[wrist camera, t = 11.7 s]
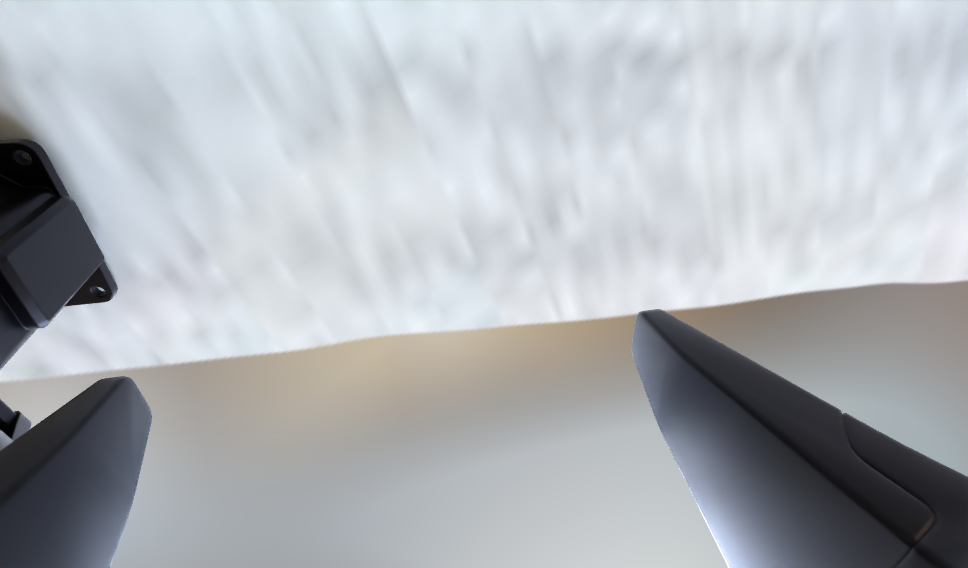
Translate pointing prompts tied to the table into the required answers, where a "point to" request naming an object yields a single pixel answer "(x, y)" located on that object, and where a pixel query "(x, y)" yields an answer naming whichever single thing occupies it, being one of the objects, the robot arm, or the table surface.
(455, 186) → the table surface
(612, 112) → the table surface
